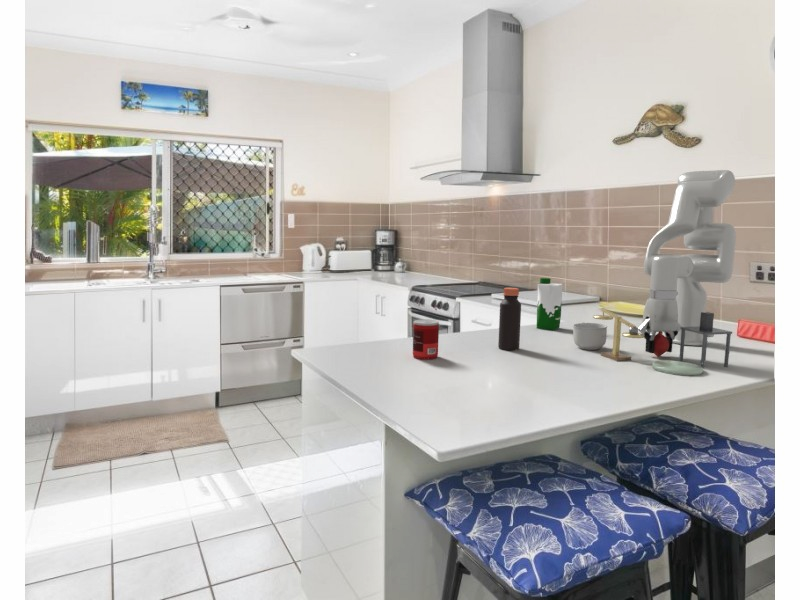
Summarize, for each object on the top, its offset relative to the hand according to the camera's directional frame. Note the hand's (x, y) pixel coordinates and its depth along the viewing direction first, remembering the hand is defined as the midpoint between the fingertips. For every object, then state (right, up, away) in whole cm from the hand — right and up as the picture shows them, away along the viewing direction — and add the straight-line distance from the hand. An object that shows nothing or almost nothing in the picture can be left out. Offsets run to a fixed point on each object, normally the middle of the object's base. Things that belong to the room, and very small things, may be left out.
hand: (658, 351), depth 179 cm
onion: (0, -2, 0) cm, 2 cm away
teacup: (-18, 0, +13) cm, 22 cm away
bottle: (-46, 0, +8) cm, 47 cm away
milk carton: (-22, +5, +49) cm, 54 cm away
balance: (-15, -2, -3) cm, 15 cm away
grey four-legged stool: (+9, -3, -10) cm, 13 cm away
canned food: (-74, -1, -6) cm, 74 cm away
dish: (-2, -4, -17) cm, 18 cm away
